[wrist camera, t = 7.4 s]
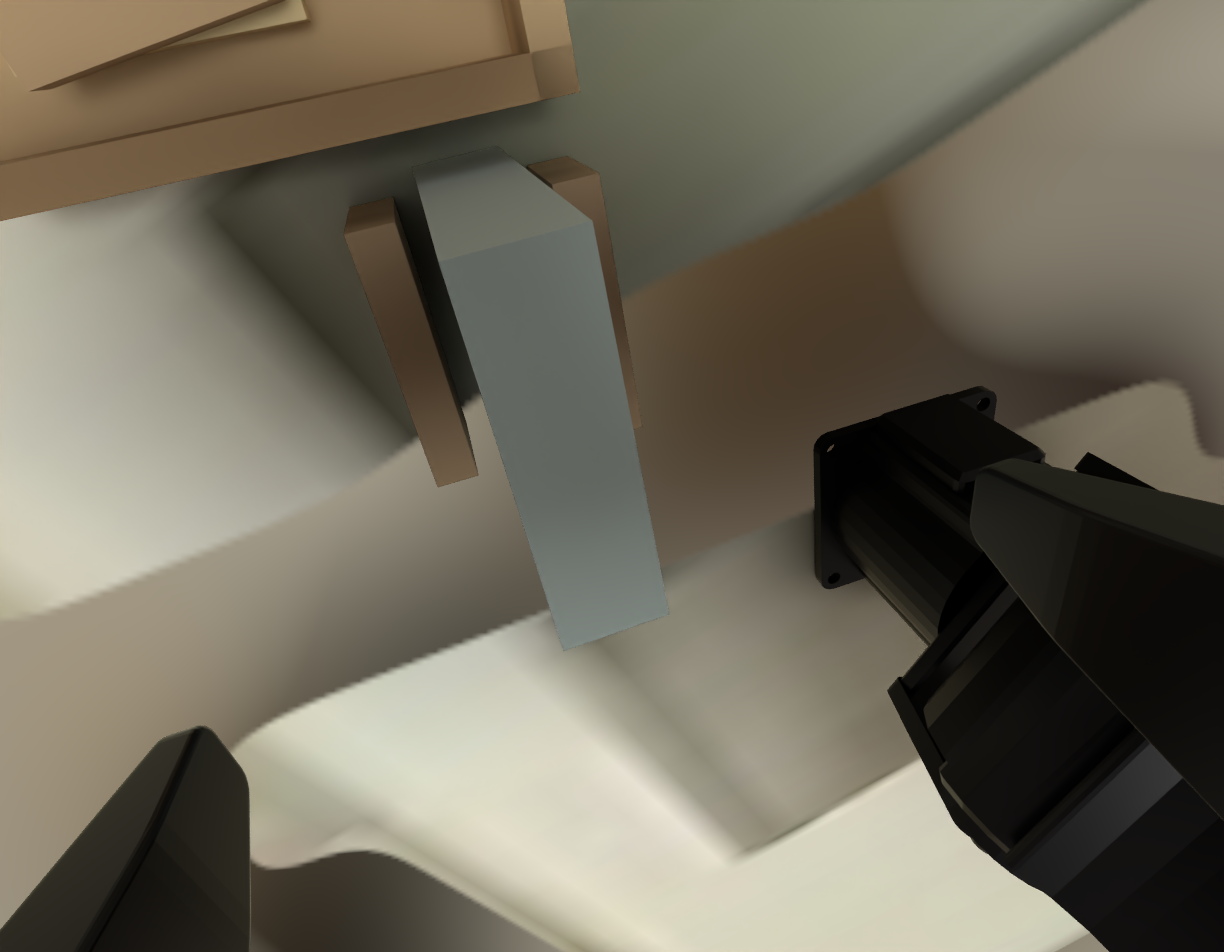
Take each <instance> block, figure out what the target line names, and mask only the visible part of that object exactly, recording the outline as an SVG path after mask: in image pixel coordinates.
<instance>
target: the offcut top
mask: <svg viewBox="0 0 1224 952" xmlns="http://www.w3.org/2000/svg"><path fill="white" fill-rule="evenodd" d="M283 1H285V0H0V53H1V54H2V56H3V57H4V58H5V60H6V61H7V63H8V64H9V66H10V67H11V68H12V70H13V71H14V73H15V74H16V76H17V77H18V78H19V80H20V81H21V83H22V84H23V85H24V87H25V88H26V90H27V91H28V92H30V91H40V90H50V89H54V88H56V87H59V86H62V85H64V84H67V83H70V82H72V81H75V80H77V79H80V78H83V77H85V76H88V75H91V74H93V73H96V72H99V71H101V70H104V69H106V68H109V67H112V66H114V65H117V64H120V63H122V62H125V61H127V60H130V59H133V58H135V57H138V56H141V55H143V54H146V53H149V52H151V51H154V50H156V49H159V48H162V47H164V46H167V45H170V44H172V43H175V42H178V41H180V40H183V39H185V38H188V37H191V36H193V35H196V34H199V33H201V32H204V31H206V30H209V29H212V28H214V27H217V26H220V25H222V24H225V23H228V22H230V21H233V20H235V19H238V18H241V17H243V16H246V15H249V14H251V13H254V12H256V11H259V10H262V9H264V8H267V7H270V6H272V5H275V4H278V3H280V2H283Z"/></svg>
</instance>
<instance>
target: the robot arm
mask: <svg viewBox="0 0 1224 952" xmlns="http://www.w3.org/2000/svg"><path fill="white" fill-rule="evenodd" d="M980 400H981V401H980ZM979 401H980V403H979V404H978V402H979ZM996 401H997V399H996V395H995V393H994V392H993V391H991V390H989V389H987V388H985V387H983V386H977V387H973V388H970V389H967V390H964V391H961V392H957V393H954V394H951V395H950V394H946V395H943V396H940V397H936V398H933V399H930V400H927V401H923V402H920V403H917V404H913V405H910V406H907V407H904V408H900V409H897V410H894V411H891V412H887V413H884V414H883V415H881V416H879V417H876V418H872V419H869V420H866V421H863V422H859V423H856V424H853V425H850V426H847V427H843V428H840V429H837V430H834V431H830V432H827V433H825V434H823V435H821V436H820V437H819V438H818V439H817V441H816V443H815V445H814V497H815V547H816V577H817V580H818V581H819V582H820V583H821V585H822V586H823V587H824V588H826V589H834V588H837V587H840V586H843V585H846V584H849V583H851V582H854V581H857V580H860V579H863V578H865V579H866V580H867V581H868V582H869V583H870V584H871V585H872V586H873V587H874V588H875V589H876V591H877V592H878V593H879V594H880V595H881V596H882V597H883V598H884V599H885V600H886V601H887V602H888V603H889V605H890V606H891V607H892V608H893V609H894V610H895V611H896V612H897V613H898V614H899V615H900V616H901V618H902V619H903V620H904V621H905V622H906V623H907V624H908V625H909V626H910V627H911V628H912V629H913V631H914V632H915V633H916V634H917V635H918V636H919V637H920V638H921V639H922V640H923V641H924V642H925V643H926V645H927V646H928V648H927V649H926V650H925V651H924V652H923V654H922V655H921V656H920V657H919V658H918V659H917V661H916V662H915V663H914V664H913V665H912V667H911V668H910V669H909V670H908V671H907V672H906V674H905V675H904V676H903V677H898V678H897V679H896V680H895V682H894V683H893V684H892V685H891V686H890V688H889V689H888V690H887V691H888V694H889V696H890V698H891V700H892V702H893V704H894V706H895V708H896V710H897V712H898V714H899V716H900V718H901V720H902V722H903V724H904V726H905V728H906V730H907V732H908V734H909V736H910V738H911V740H912V742H913V744H914V746H915V747H916V749H917V751H918V753H919V755H920V757H921V759H922V761H923V763H924V765H925V767H926V769H927V771H928V773H929V775H930V777H931V779H932V781H933V783H934V784H935V786H936V788H937V790H938V792H939V794H940V796H941V798H942V800H943V802H944V804H945V806H946V808H947V810H948V812H949V814H950V816H951V818H952V819H953V821H954V823H955V824H956V825H957V826H958V828H959V829H960V830H961V831H963V832H964V833H965V834H966V835H968V836H969V837H970V838H971V840H972V841H973V842H974V844H975V845H976V846H977V847H978V848H979V849H980V850H982V851H983V852H985V853H987V854H989V855H990V856H991V857H992V858H993V859H994V860H995V861H996V862H998V863H999V864H1000V865H1001V866H1003V867H1004V868H1005V869H1006V870H1008V871H1009V872H1010V873H1011V874H1013V875H1014V876H1016V877H1017V878H1019V879H1021V880H1022V881H1024V882H1025V883H1027V884H1028V885H1030V886H1032V887H1034V888H1036V889H1038V890H1040V891H1042V892H1044V893H1045V894H1047V895H1048V896H1049V897H1051V898H1052V899H1053V900H1054V901H1055V902H1056V903H1058V904H1059V905H1060V906H1061V907H1062V908H1063V909H1064V910H1065V911H1067V912H1068V913H1069V914H1070V915H1071V916H1072V917H1073V918H1075V919H1076V920H1077V921H1078V922H1079V923H1080V924H1081V925H1082V926H1084V927H1085V928H1086V929H1087V930H1088V931H1089V932H1090V933H1091V934H1092V935H1093V936H1094V937H1095V938H1096V939H1097V940H1098V941H1099V942H1100V943H1101V944H1102V945H1103V946H1104V947H1105V948H1106V949H1107V950H1108V951H1109V952H1224V505H1220V504H1215V503H1211V502H1206V501H1202V500H1197V499H1193V498H1189V497H1184V496H1180V495H1175V494H1171V493H1167V492H1162V491H1159V490H1157V489H1155V488H1153V487H1151V486H1149V485H1148V484H1146V483H1144V482H1142V481H1140V480H1138V479H1137V478H1135V477H1133V476H1131V475H1129V474H1127V473H1126V472H1124V471H1122V470H1120V469H1118V468H1117V467H1115V466H1113V465H1111V464H1109V463H1107V462H1106V461H1104V460H1102V459H1100V458H1098V457H1096V456H1095V455H1093V454H1091V453H1089V452H1087V453H1086V455H1085V456H1084V457H1083V458H1082V459H1081V461H1080V462H1079V463H1078V464H1077V465H1076V467H1075V468H1074V469H1076V470H1077V471H1076V472H1074V471H1069V470H1065V469H1060V468H1056V467H1052V466H1050V465H1049V464H1047V463H1045V462H1044V460H1045V452H1044V451H1043V450H1041V449H1040V448H1039V447H1038V446H1036V445H1034V444H1033V443H1031V442H1029V441H1027V440H1026V439H1024V438H1022V437H1021V436H1019V435H1017V434H1016V433H1014V432H1012V431H1011V430H1009V429H1007V428H1006V427H1004V426H1002V425H1001V424H999V423H997V422H996V421H994V415H995V408H996ZM977 404H978V405H977ZM833 444H834V447H833V448H832V450H830V451H829V452H827V450H828V448H829V447H830V446H832V445H833ZM831 574H832V575H831ZM830 575H831V576H830ZM250 881H251V880H250V800H249V786H248V781H247V778H246V775H245V773H244V771H243V769H242V768H241V766H240V765H239V764H238V763H237V761H236V760H235V759H234V757H233V756H232V755H231V753H230V752H229V751H228V749H227V748H226V747H225V745H224V744H223V743H222V741H221V740H220V739H219V738H218V736H217V735H216V734H215V733H214V731H213V730H212V729H210V728H209V727H207V726H195V727H192V728H189V729H186V730H183V731H180V732H177V733H175V734H171V735H169V736H166V737H164V738H162V739H161V740H160V741H158V742H157V744H156V745H155V746H154V747H153V748H152V749H151V750H150V751H149V753H148V754H147V755H146V756H145V757H144V759H143V760H142V761H141V762H140V764H139V765H138V766H137V767H136V768H135V770H134V771H133V772H132V773H131V774H130V775H129V777H128V778H127V779H126V780H125V781H124V782H123V784H122V785H121V786H120V787H119V788H118V790H117V791H116V792H115V793H114V795H113V796H112V797H111V798H110V799H109V800H108V802H107V803H106V804H105V805H104V806H103V808H102V809H101V810H100V811H99V812H98V814H97V815H96V816H95V817H94V819H93V820H92V821H91V822H90V823H89V824H88V826H87V827H86V828H85V829H84V830H83V831H82V833H81V834H80V835H79V836H78V838H77V839H76V840H75V841H74V842H73V844H72V845H71V846H70V847H69V848H68V849H67V851H66V852H65V853H64V854H63V855H62V857H61V858H60V859H59V860H58V861H57V863H56V864H55V865H54V866H53V867H52V869H51V870H50V871H49V872H48V873H47V875H46V876H45V877H44V878H43V879H42V881H41V882H40V883H39V884H38V885H37V886H36V888H35V889H34V890H33V891H32V892H31V894H30V895H29V896H28V897H27V899H26V900H25V901H24V902H23V903H22V904H21V906H20V907H19V908H18V909H17V910H16V912H15V913H14V914H13V915H12V916H11V918H10V919H9V920H8V921H7V922H6V924H5V925H4V926H3V927H2V928H1V929H0V952H250V939H251V937H250V936H251V887H250V886H251V882H250Z"/></svg>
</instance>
